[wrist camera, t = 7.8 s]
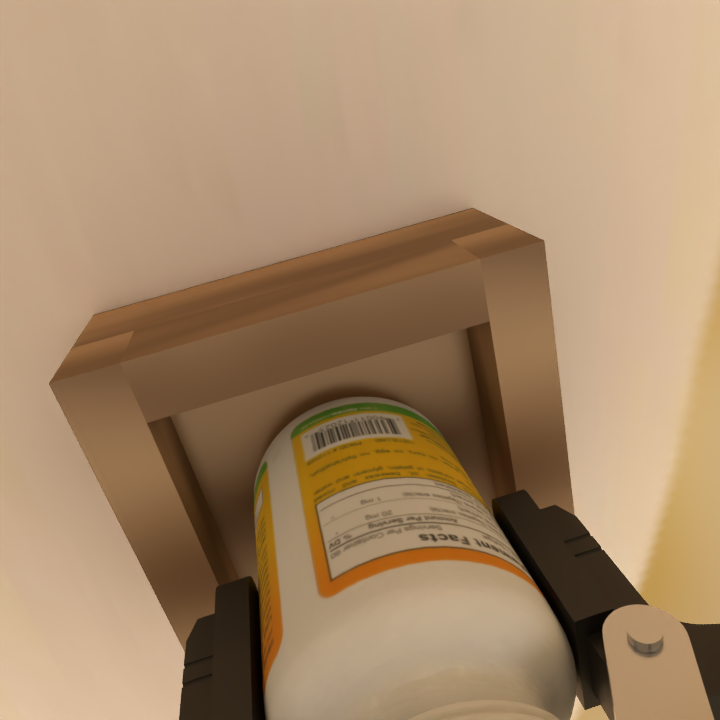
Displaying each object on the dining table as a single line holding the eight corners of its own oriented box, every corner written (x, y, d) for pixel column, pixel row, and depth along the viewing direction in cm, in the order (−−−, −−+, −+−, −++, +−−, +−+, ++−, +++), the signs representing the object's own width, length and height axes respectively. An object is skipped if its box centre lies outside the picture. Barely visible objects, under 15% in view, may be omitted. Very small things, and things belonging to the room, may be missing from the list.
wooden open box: (93, 315, 17) (48, 383, 13) (473, 208, 18) (544, 240, 14) (222, 603, 22) (219, 721, 17) (520, 508, 22) (583, 599, 18)
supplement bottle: (360, 589, 18) (478, 1049, 9) (209, 502, 16) (181, 986, 7) (488, 460, 17) (753, 838, 8) (346, 350, 15) (501, 696, 6)
